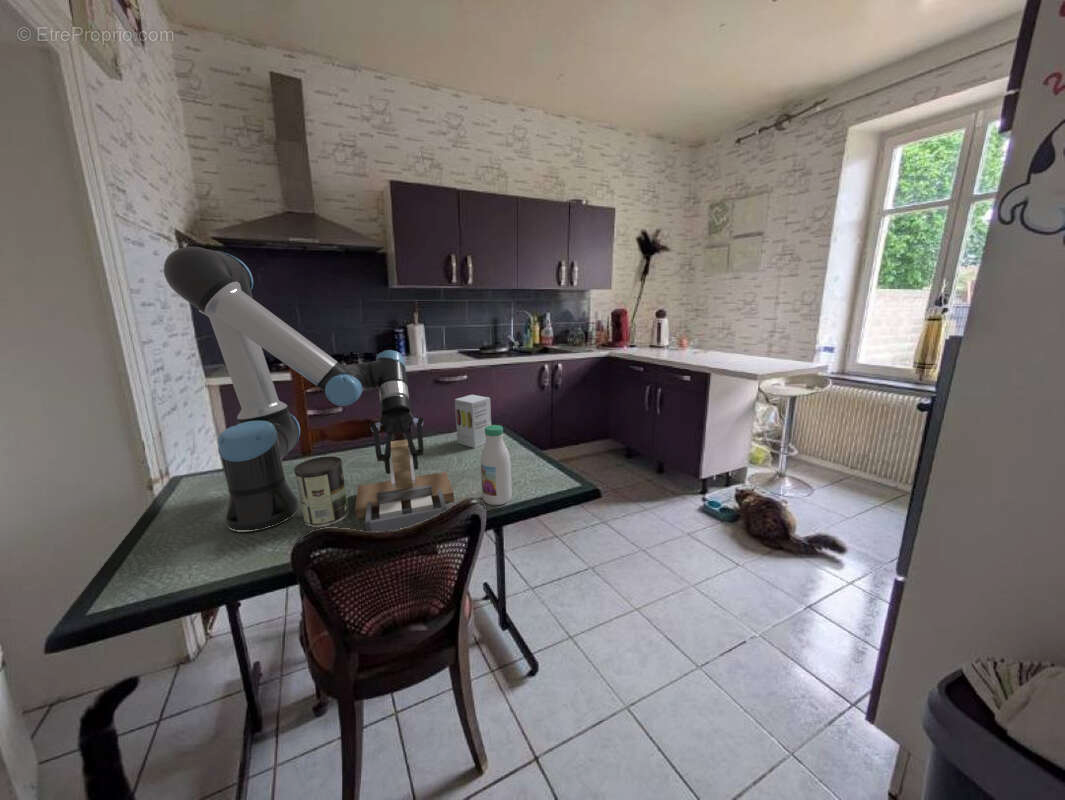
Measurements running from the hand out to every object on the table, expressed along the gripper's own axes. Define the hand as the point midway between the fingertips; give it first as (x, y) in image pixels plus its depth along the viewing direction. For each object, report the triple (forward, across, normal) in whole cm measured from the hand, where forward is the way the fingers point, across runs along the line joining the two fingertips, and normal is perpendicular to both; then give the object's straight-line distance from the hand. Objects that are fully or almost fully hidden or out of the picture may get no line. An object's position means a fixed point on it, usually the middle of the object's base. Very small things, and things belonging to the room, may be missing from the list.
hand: (403, 483), depth 100 cm
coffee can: (+2, +19, -11) cm, 22 cm away
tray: (+8, 0, -4) cm, 9 cm away
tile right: (+7, -4, -5) cm, 9 cm away
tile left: (+7, +4, -5) cm, 9 cm away
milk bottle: (+6, -23, -6) cm, 25 cm away
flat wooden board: (-1, 0, -13) cm, 13 cm away
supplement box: (-25, -26, -38) cm, 52 cm away
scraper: (0, 0, -7) cm, 7 cm away
